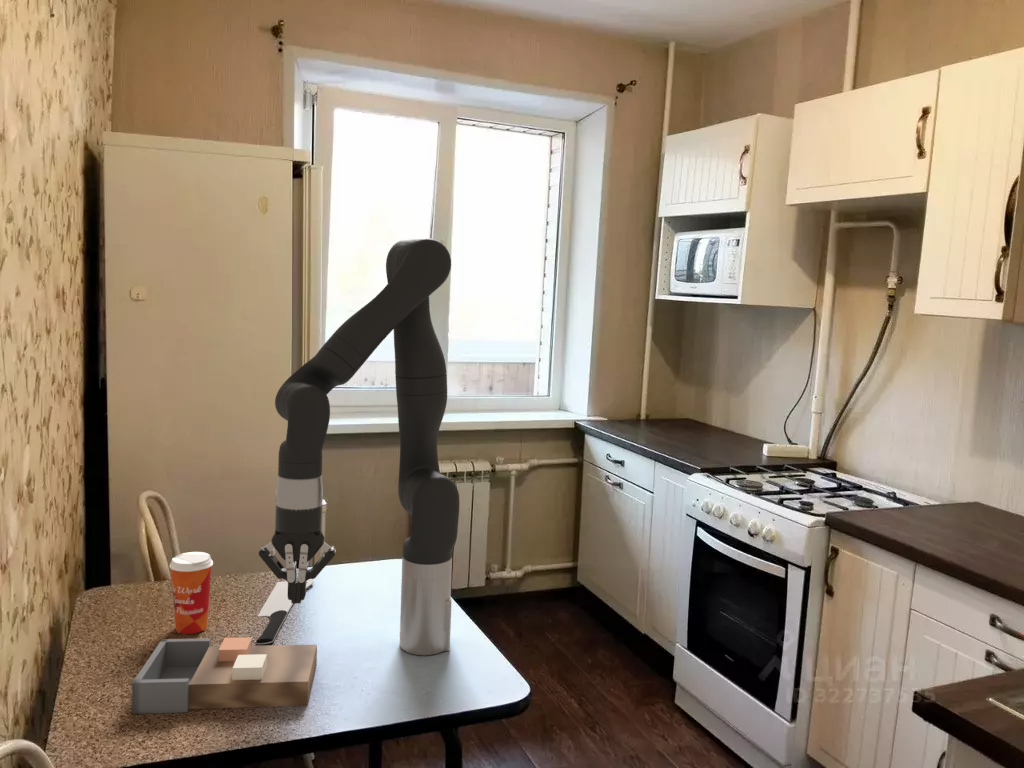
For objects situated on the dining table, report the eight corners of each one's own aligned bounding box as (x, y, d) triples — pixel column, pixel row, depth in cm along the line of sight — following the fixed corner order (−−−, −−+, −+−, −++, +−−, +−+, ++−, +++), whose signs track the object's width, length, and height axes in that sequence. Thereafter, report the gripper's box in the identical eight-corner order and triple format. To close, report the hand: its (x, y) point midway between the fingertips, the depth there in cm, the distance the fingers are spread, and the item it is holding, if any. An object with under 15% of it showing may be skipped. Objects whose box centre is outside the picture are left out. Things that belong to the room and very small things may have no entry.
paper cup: (160, 633, 147) (160, 561, 145) (187, 617, 154) (186, 548, 153) (197, 639, 145) (197, 566, 143) (222, 623, 152) (222, 553, 151)
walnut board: (316, 666, 137) (316, 644, 137) (307, 705, 124) (308, 681, 124) (209, 668, 134) (209, 646, 134) (189, 708, 122) (189, 684, 121)
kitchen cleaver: (269, 579, 175) (314, 575, 175) (270, 586, 175) (315, 582, 175) (224, 642, 144) (278, 637, 144) (225, 651, 144) (279, 646, 144)
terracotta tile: (252, 648, 134) (252, 637, 134) (246, 660, 130) (246, 649, 129) (224, 649, 133) (224, 637, 133) (218, 661, 129) (218, 649, 129)
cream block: (266, 665, 128) (266, 654, 128) (261, 679, 124) (262, 667, 124) (238, 666, 128) (238, 654, 127) (232, 680, 123) (232, 668, 123)
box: (210, 665, 135) (210, 638, 135) (187, 712, 121) (187, 681, 120) (162, 667, 134) (161, 639, 134) (132, 713, 120) (132, 683, 119)
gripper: (341, 496, 134) (338, 593, 136) (262, 494, 133) (259, 593, 134) (338, 508, 127) (334, 610, 129) (253, 506, 125) (251, 610, 127)
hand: (296, 601), depth 132 cm, fingers closed
